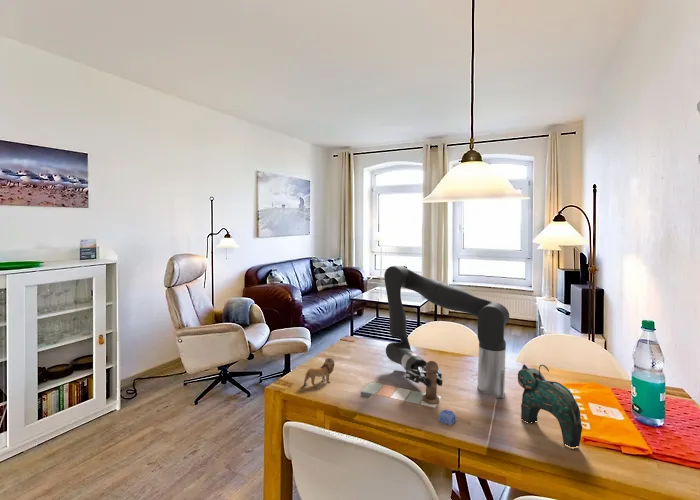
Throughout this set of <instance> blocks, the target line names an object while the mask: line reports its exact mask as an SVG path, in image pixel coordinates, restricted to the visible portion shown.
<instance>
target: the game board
mask: <svg viewBox="0 0 700 500" xmlns="http://www.w3.org/2000/svg"><path fill="white" fill-rule="evenodd" d="M425 394H426V392H421V391H417V390H411V389H408V388H402V387H397V386H392V385H388V384H384V383H378V382H374V381H370V382H369V384H368V385H366V387H365V388H363V390H362V391H360V395H361V396H362V397H366V398H370V397H371V396H372V395H376V396H381V397H384V398H391V399H395V400H398V401H405V402H408V403H412V404H417V405H421V406H425V407H430V408H434V409H435V408H436V407H437V405H438V403H437V404H428V403H425V402H424V401H423V395H425ZM437 396H438V397H439V401H440V399H441V397H442V396H440V395H437Z"/></svg>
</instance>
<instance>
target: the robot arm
mask: <svg viewBox="0 0 700 500" xmlns="http://www.w3.org/2000/svg"><path fill="white" fill-rule="evenodd" d="M383 277H384V278H383V279H384V285H385V290H386V297H387V304H388V313H389V335H390V336H391V337H393V338H398V339H399V340H400V341H399V342H396V341H395V342H390V343H388V344H387V345H386V347H385V354H386V357H387V358H388V359H389V360H390V361H392V362H393V363H396V364H397V365H398V364H399V365H400V366H401V367H402V368H403V369H404V370H405V378H406V379H407V380H410V381H411V382H414V383H416V384H419V383H421V384H423V385H424V386H425V387H426V386H428V387H431V381H430V380H429V379H428V378H427V377H426V369H425V366H426V363H427V362H428V361H426V360H424V359H423V358H422V357H421V356H419V355H418V354H416V353H415V352H413V350H412V348H411V345H410V342H409V338H408V333H407V316H406V312H405V309H404V306H403V302H402V295H401V290H402V288H404V289H408V290H410V291H414V292H416V293H418V294H419V295H420V296H422V298H424V299H425V300H426V301H428V302H430V303H431V304H434V305H436V306H439V307H441V308H444V309H445V310H451V311H454V312H460V313H466V314H469V315H472V316H475V317H476V318H477V327H476V328H477V329H476V330H477V340H478V363H477V365H478V366H477V370H478V371H477V389H478V391H480V392H481V393H484V394H487V395H493V396H495V399H499V398H500V399H504V396H505V385H506V352H507V351H506V350H507V349H506V347H507V343H506V340H505V325H507V323H508V322H509V320H510V313H509V310H508V309H507V308H506V306H504V305H503V304H502V303H500V302H496V301H492V300H488V299H485V298H481V297H478V296H475V295H473V294H470V293H468V292H466V291H464V290H461V289H459V288H457V287H454V286H453V285H450V284H448V283H444V282H441V281H439V280H436V279H433V278H430V277H426V276H424V275H420V274H419V273H417V272H415V271H413V270H411V269H409V268H407V267H405V266H401V265H393V266H389V267H387V269H385V272H384V276H383ZM442 375H443V373H442V371H441V367H438V371H437V386H439V387H442V386H443V379H442V378H443V377H442Z"/></svg>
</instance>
